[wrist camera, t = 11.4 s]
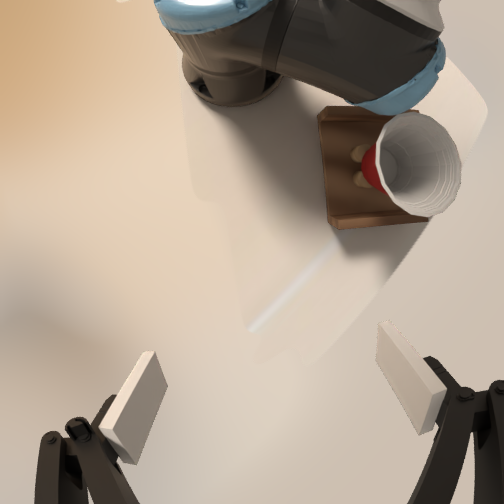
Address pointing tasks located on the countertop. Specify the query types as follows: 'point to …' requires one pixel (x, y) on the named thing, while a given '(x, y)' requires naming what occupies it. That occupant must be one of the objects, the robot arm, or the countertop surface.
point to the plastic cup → (414, 164)
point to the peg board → (354, 169)
